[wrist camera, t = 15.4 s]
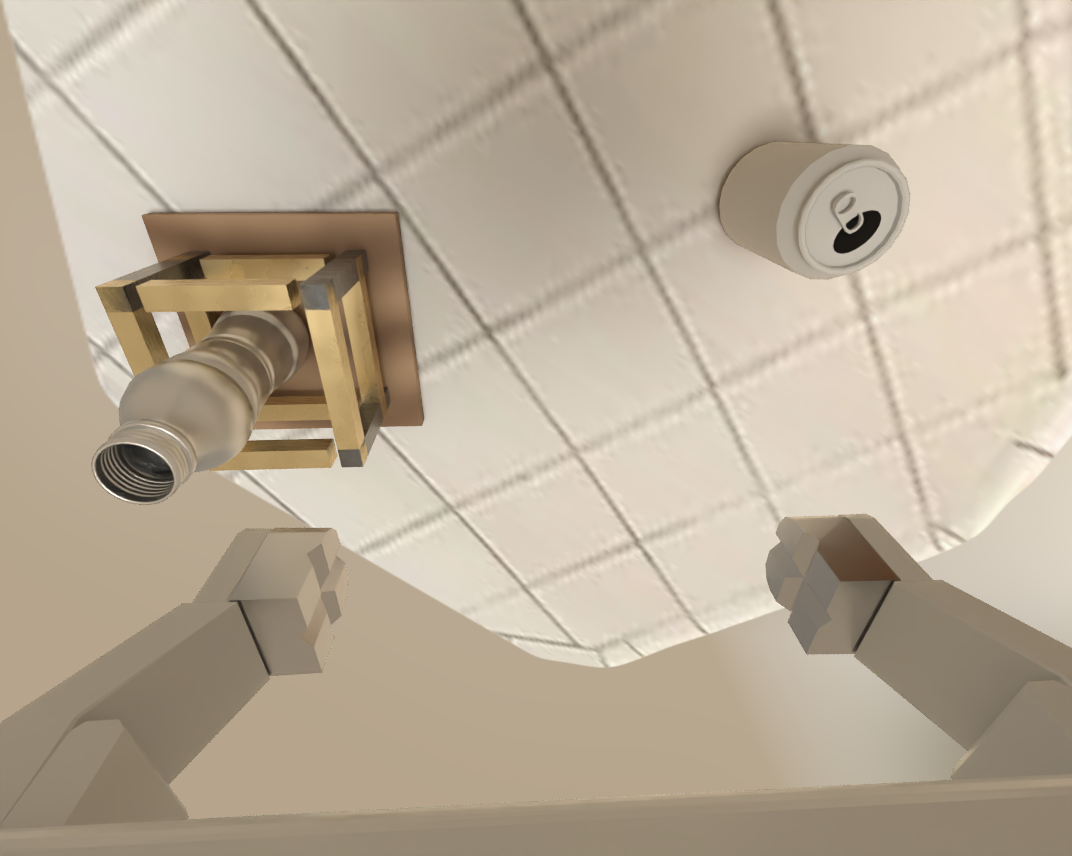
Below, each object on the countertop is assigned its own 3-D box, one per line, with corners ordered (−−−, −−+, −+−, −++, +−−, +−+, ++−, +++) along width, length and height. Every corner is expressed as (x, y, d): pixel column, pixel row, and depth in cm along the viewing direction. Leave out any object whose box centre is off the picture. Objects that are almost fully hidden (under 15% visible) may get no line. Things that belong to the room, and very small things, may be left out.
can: (746, 267, 42) (826, 312, 31) (696, 194, 38) (765, 218, 28) (829, 198, 39) (945, 223, 29) (782, 115, 36) (893, 110, 26)
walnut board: (151, 212, 37) (141, 215, 36) (397, 211, 38) (394, 214, 37) (226, 423, 46) (220, 430, 45) (423, 419, 47) (422, 425, 46)
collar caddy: (189, 251, 38) (95, 286, 29) (366, 249, 38) (325, 284, 30) (240, 405, 44) (176, 471, 36) (390, 402, 45) (363, 466, 36)
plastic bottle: (223, 353, 41) (52, 510, 24) (237, 275, 38) (53, 391, 21) (305, 379, 43) (201, 542, 26) (324, 307, 40) (220, 437, 23)
